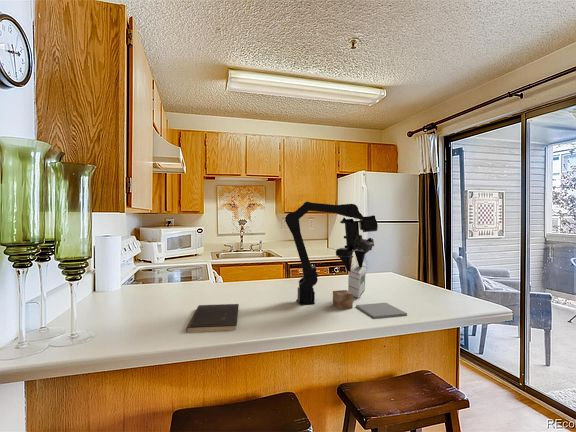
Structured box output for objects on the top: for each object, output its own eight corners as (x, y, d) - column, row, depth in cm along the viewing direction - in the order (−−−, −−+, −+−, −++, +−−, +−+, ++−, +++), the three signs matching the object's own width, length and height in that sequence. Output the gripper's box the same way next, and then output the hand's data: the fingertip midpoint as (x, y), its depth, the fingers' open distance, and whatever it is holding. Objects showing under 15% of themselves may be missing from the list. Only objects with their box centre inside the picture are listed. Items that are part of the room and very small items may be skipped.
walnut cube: (338, 309, 122) (338, 294, 122) (332, 305, 128) (332, 290, 128) (352, 308, 124) (352, 293, 124) (345, 304, 129) (345, 290, 129)
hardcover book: (238, 309, 123) (238, 303, 123) (236, 331, 100) (236, 324, 100) (197, 311, 121) (197, 305, 121) (186, 334, 98) (186, 327, 98)
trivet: (374, 318, 112) (374, 316, 112) (355, 307, 125) (355, 305, 125) (407, 315, 115) (407, 313, 115) (385, 304, 129) (385, 302, 129)
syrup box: (359, 298, 138) (361, 273, 131) (347, 293, 141) (348, 268, 134) (364, 291, 142) (366, 266, 134) (353, 286, 145) (354, 262, 138)
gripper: (357, 236, 118) (360, 276, 119) (380, 230, 131) (382, 266, 132) (333, 235, 126) (336, 273, 126) (357, 230, 139) (360, 264, 140)
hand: (355, 269), depth 131 cm, fingers open, 9 cm apart
